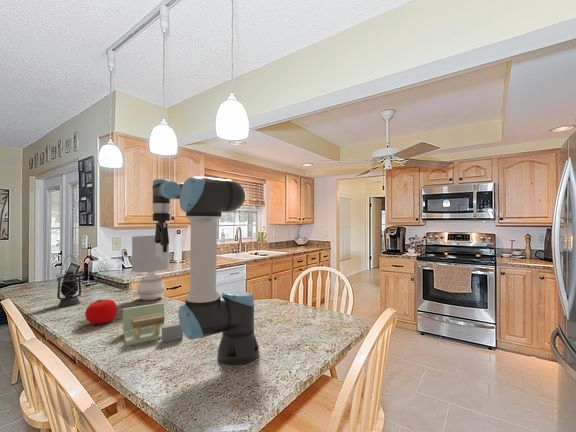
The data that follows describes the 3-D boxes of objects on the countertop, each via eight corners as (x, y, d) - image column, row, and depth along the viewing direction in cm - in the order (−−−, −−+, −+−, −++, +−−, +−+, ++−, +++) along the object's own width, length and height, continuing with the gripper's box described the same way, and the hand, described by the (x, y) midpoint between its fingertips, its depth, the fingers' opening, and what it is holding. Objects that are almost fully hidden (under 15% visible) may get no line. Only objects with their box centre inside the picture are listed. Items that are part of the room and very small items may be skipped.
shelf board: (164, 322, 127) (164, 316, 127) (133, 328, 120) (133, 322, 120) (161, 318, 132) (161, 313, 132) (131, 324, 125) (131, 318, 125)
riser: (182, 338, 124) (182, 324, 124) (162, 343, 120) (162, 328, 120) (181, 336, 126) (181, 322, 126) (161, 341, 122) (161, 326, 122)
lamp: (127, 298, 190) (127, 236, 190) (162, 292, 204) (162, 235, 205) (138, 305, 174) (138, 237, 174) (174, 298, 188) (174, 236, 189)
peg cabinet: (171, 336, 127) (171, 310, 127) (126, 345, 118) (126, 318, 118) (163, 325, 140) (163, 302, 140) (122, 333, 130) (123, 308, 131)
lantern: (78, 300, 186) (78, 253, 186) (84, 303, 179) (85, 254, 180) (53, 305, 175) (54, 255, 176) (60, 308, 169) (60, 256, 170)
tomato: (121, 322, 145) (121, 299, 145) (88, 329, 135) (88, 305, 135) (113, 316, 154) (113, 294, 154) (81, 323, 144) (81, 300, 144)
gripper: (176, 212, 129) (176, 260, 129) (164, 213, 150) (164, 254, 150) (157, 211, 125) (158, 261, 125) (148, 213, 146) (148, 255, 145)
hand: (161, 258), depth 137 cm, fingers open, 13 cm apart
